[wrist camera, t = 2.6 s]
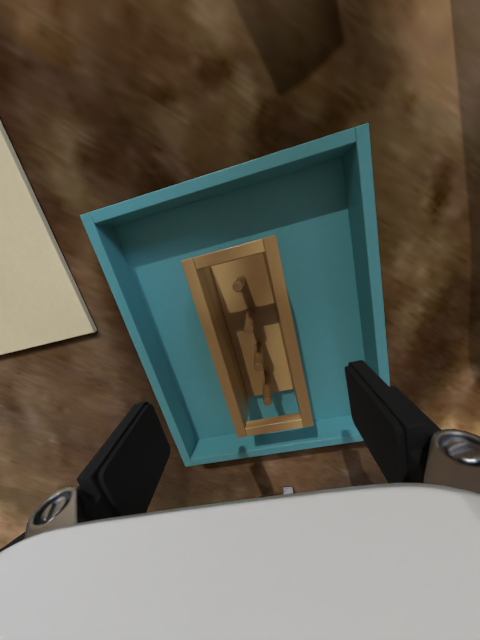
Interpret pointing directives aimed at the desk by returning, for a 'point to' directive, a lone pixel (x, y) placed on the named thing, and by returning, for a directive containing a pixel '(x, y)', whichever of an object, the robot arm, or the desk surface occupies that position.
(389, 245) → the desk surface
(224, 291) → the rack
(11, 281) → the mat
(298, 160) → the teal tray
